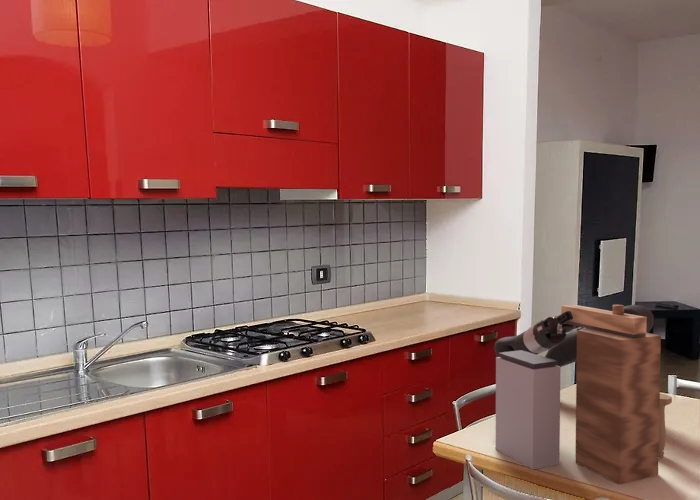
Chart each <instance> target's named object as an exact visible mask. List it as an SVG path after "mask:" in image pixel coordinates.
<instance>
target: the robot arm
mask: <svg viewBox="0 0 700 500" xmlns="http://www.w3.org/2000/svg"><path fill="white" fill-rule="evenodd" d="M652 312H653V311H651V310H650V309H649V308H648V307H645V306H643V305H641V304H631V305H630V304H629V305H624V313H625V314H631V315H637V316H643V317H647V321H646V333H650V331H651V330H652V328H653V326H654V324H655V323H654V322H655V317H654V314H653V313H652ZM572 319H573V316H572V314H571V311H566V312H564V313H563V314H561V313H560V314H559V315H555V316H547V317H545V318H543V319H541V320H540V321H538V322H536V323H535V324H533V325H532V326H530V327H528V328H527V329H526V330H524V331H523V332H522V333H520V334H517V335H514V336H505V337H501V338H499V339H497V340H496V341H495V343H494V345H493V349H494V352H495V355H496V357H499V353H501V352H510V351H519V350H523V351H526V352H529V353H533V354H536V355H540V354H541V353H544V352H546V351H547V352H546V354H545V356H544V357H546V358H549V359H553V360H556V361H558V365H557V366H560V368H562V367H564V366H568V365H570V364H574V363H577V330H584V329H588V328H583V327H578V326H574V325H569V324H565V323H566V322H568V321H570V320H572Z"/></svg>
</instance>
